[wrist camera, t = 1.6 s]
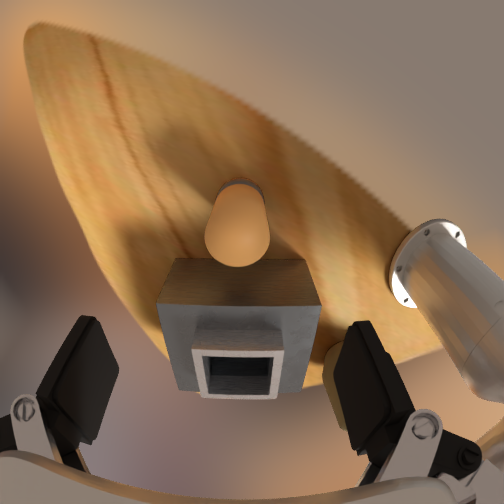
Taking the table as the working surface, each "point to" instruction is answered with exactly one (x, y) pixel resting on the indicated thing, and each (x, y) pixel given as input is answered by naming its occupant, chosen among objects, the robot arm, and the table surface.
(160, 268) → the table surface
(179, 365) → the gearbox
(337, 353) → the squeeze bottle
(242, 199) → the orange cylinder
